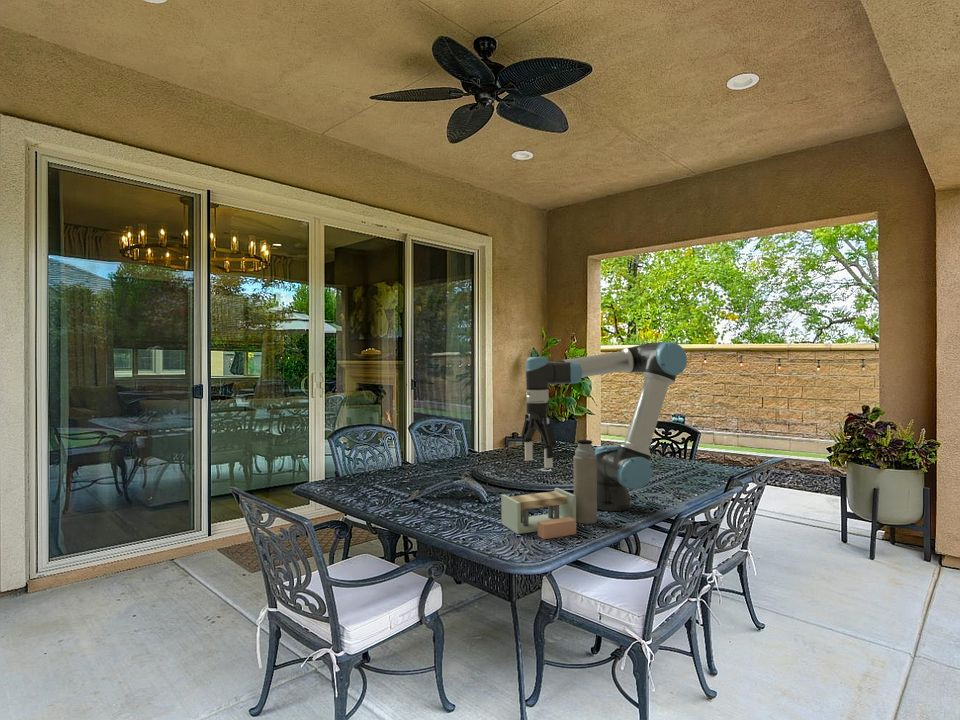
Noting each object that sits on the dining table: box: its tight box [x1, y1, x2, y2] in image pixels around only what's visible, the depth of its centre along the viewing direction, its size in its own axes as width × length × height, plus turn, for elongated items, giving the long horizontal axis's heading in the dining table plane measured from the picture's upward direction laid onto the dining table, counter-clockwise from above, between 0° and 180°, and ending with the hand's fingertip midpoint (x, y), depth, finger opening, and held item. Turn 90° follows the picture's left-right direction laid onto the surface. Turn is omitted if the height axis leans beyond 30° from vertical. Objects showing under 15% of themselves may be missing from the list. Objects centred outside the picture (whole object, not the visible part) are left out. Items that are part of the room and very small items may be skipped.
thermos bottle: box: [572, 439, 598, 525], centre depth 190 cm, size 8×8×28 cm
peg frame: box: [500, 487, 576, 535], centre depth 186 cm, size 22×12×10 cm, turn 113°
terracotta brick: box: [537, 517, 577, 540], centre depth 175 cm, size 12×4×4 cm, turn 113°
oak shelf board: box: [509, 490, 567, 510], centre depth 186 cm, size 18×8×2 cm, turn 113°
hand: (538, 463), depth 186 cm, fingers open, 13 cm apart
